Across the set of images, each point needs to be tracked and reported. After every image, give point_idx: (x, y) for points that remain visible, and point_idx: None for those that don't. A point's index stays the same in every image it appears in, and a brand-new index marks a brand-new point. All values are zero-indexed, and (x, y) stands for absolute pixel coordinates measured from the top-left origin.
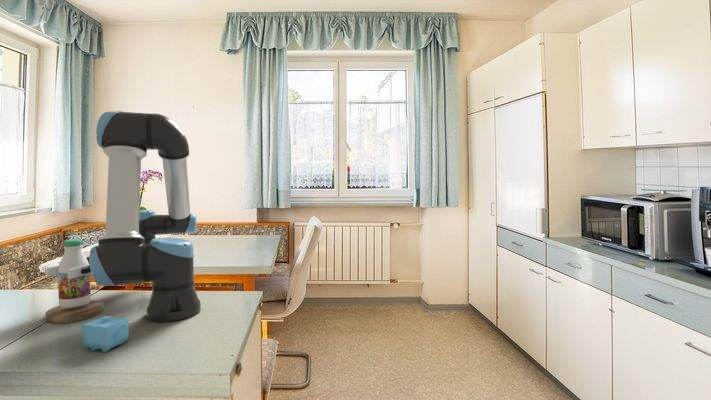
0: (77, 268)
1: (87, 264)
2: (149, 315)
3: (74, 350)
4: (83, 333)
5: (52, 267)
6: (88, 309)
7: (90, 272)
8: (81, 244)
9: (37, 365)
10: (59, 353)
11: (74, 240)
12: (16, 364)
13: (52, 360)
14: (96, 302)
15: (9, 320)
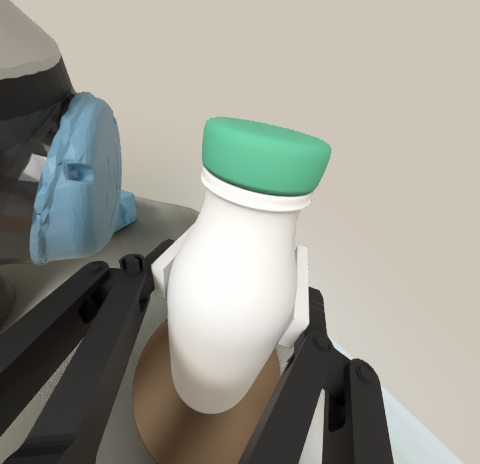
0: (188, 230)
1: (170, 274)
2: (6, 281)
3: (149, 224)
4: (135, 204)
5: (296, 258)
6: (168, 342)
7: (155, 291)
8: (203, 157)
9: (175, 211)
10: (163, 222)
11: (247, 121)
12: (195, 216)
13: (165, 214)
14: (162, 431)
15: (338, 349)
